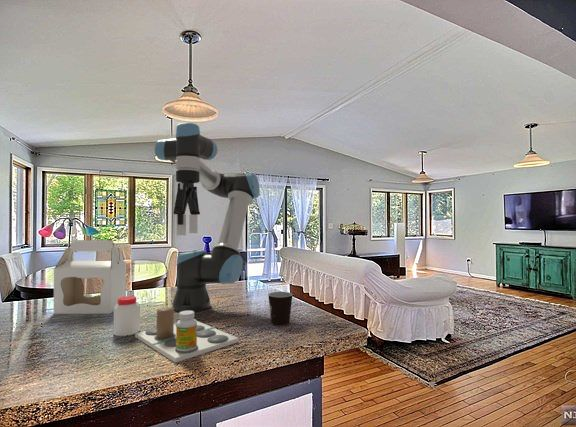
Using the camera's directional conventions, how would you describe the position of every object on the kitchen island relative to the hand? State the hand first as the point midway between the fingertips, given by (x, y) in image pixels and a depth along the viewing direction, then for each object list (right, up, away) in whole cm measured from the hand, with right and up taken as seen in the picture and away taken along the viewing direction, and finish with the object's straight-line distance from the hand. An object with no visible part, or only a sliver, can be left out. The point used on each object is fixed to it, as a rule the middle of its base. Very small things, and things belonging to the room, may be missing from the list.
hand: (187, 234), depth 111 cm
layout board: (+2, -32, -9) cm, 33 cm away
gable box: (-46, -32, +24) cm, 61 cm away
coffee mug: (+31, -32, +9) cm, 45 cm away
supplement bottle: (+6, -30, -20) cm, 37 cm away
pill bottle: (-19, -32, -3) cm, 37 cm away
